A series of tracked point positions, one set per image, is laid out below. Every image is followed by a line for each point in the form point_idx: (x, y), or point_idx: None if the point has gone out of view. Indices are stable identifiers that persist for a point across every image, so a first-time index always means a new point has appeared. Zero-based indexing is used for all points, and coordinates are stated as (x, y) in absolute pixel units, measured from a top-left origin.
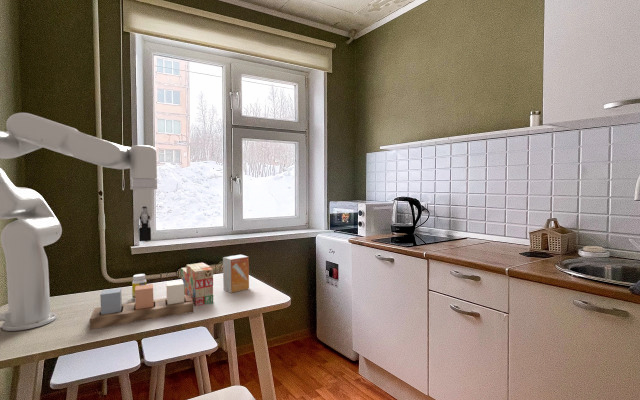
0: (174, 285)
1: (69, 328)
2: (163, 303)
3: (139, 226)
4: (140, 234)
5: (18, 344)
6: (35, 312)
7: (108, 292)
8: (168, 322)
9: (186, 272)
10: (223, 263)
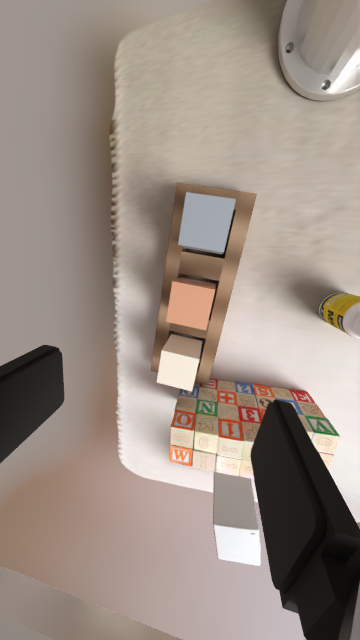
0: (159, 364)
1: (216, 147)
2: (184, 330)
3: (323, 507)
4: (1, 375)
5: (183, 41)
6: (309, 8)
7: (195, 215)
8: (133, 317)
9: None
10: (252, 508)
